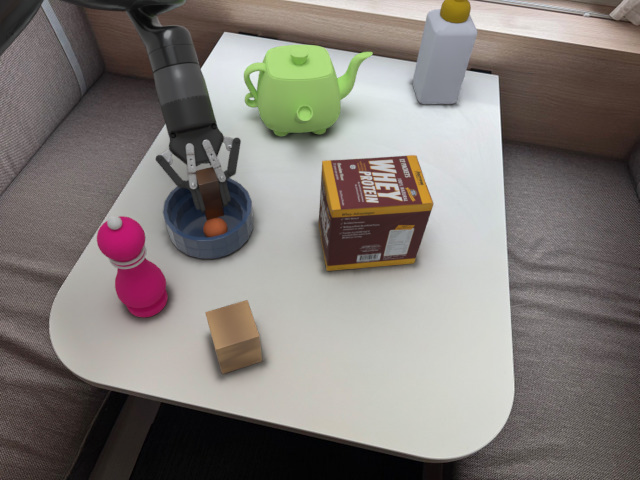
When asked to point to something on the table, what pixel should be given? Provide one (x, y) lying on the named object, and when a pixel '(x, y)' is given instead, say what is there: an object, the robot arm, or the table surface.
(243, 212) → the bowl
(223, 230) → the ball
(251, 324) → the light wooden block
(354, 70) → the teapot
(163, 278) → the pepper mill
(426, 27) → the soap bottle
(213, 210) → the tall bronze square pillar
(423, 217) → the supplement box
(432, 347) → the table surface
